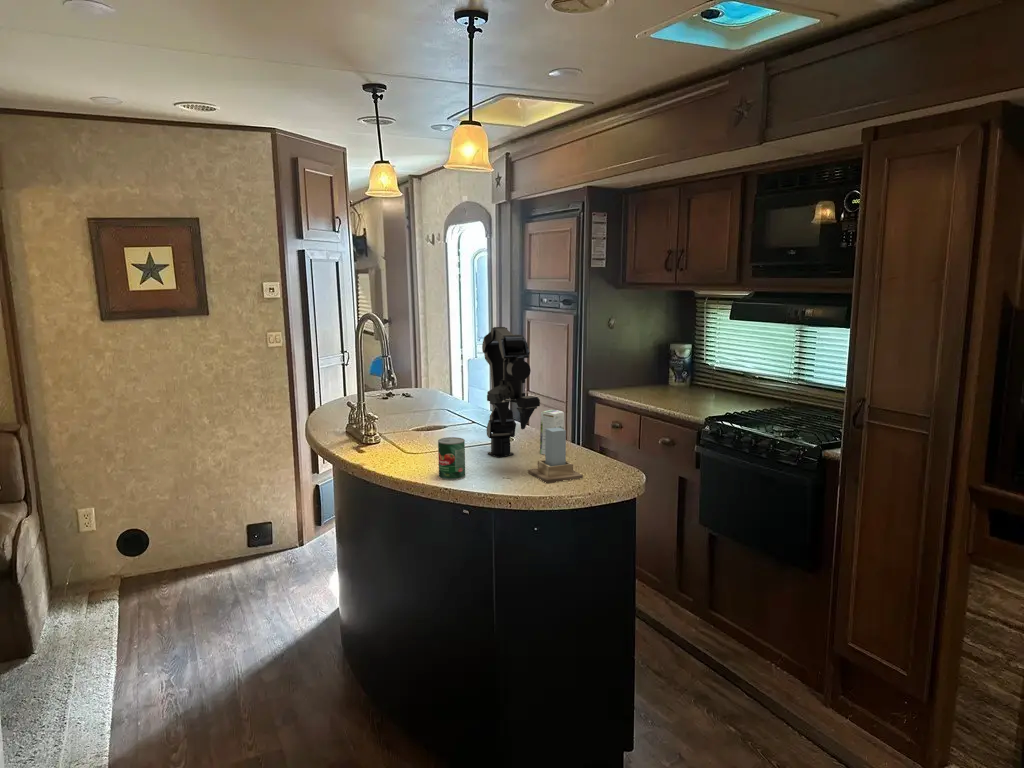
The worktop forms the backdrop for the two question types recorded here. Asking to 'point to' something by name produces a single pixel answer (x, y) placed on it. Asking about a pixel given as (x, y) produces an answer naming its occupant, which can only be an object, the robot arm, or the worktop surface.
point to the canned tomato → (451, 458)
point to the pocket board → (555, 472)
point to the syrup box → (549, 424)
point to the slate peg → (555, 447)
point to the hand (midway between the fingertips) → (512, 427)
